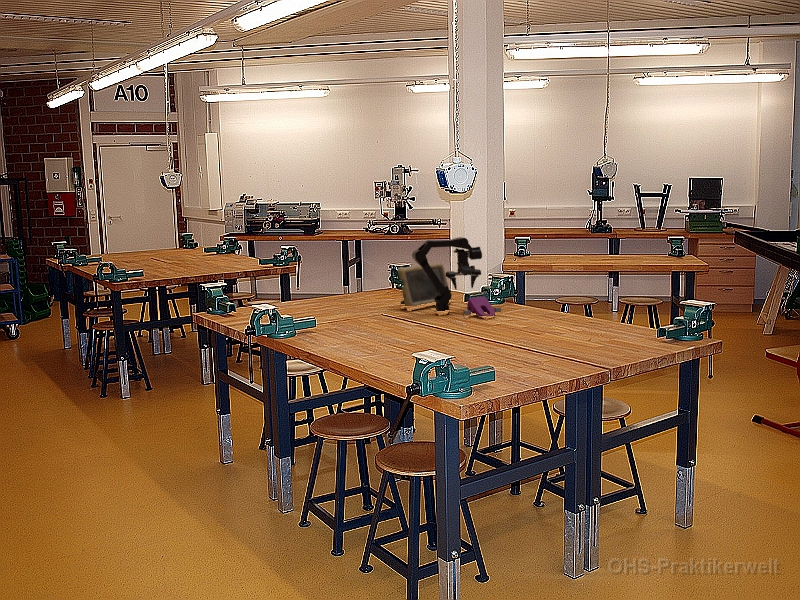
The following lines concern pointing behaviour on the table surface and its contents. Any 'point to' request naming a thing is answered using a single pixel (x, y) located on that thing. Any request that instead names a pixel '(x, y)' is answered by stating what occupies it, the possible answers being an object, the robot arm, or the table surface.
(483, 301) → the mounting bracket
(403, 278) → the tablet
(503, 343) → the table surface
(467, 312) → the stop blocks
